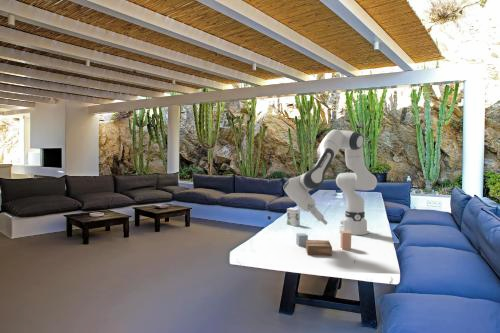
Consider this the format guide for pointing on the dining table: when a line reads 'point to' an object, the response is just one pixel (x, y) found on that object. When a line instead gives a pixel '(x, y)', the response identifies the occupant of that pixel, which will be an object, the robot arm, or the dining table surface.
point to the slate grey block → (301, 239)
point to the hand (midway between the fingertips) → (324, 222)
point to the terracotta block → (345, 240)
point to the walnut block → (318, 247)
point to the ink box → (293, 216)
